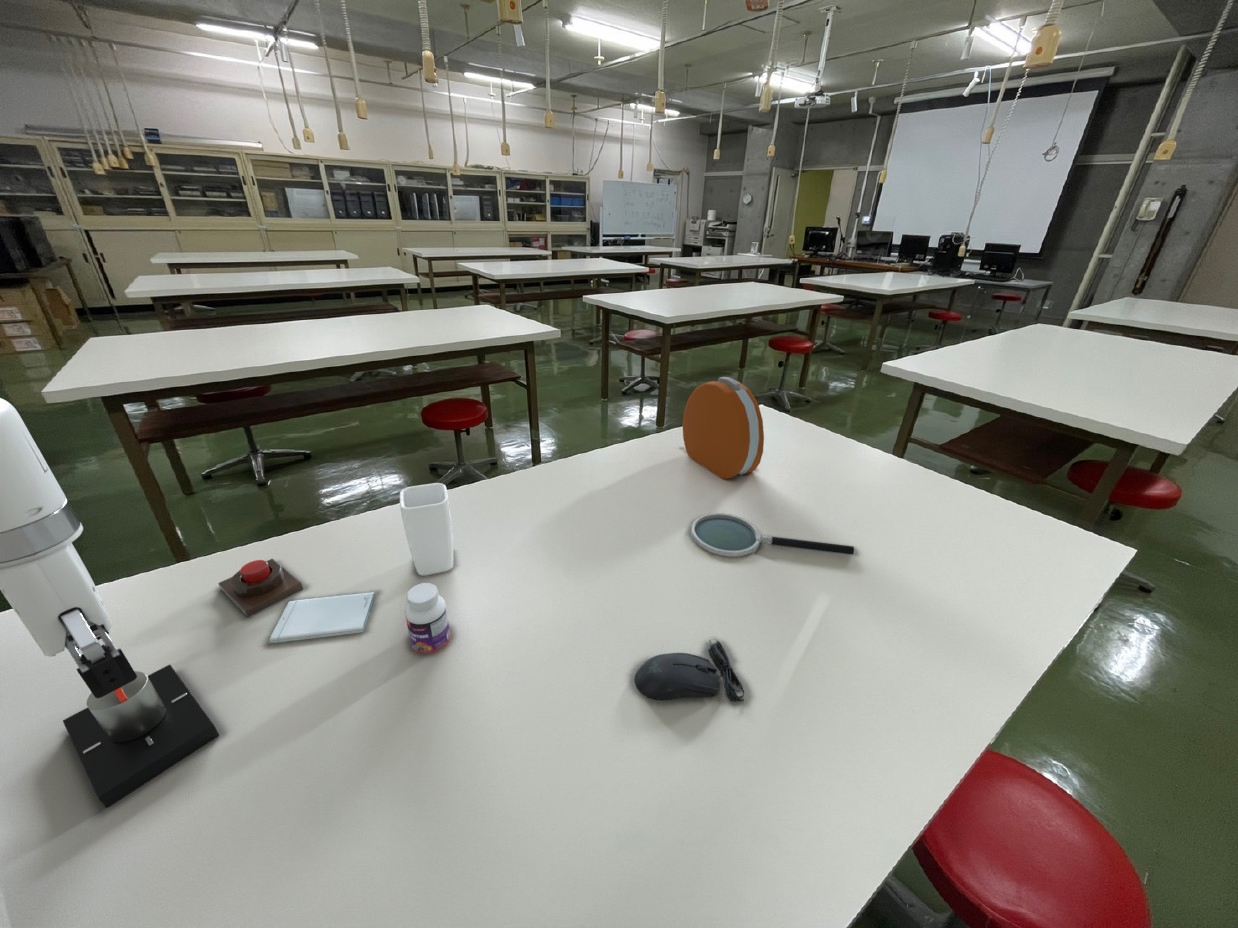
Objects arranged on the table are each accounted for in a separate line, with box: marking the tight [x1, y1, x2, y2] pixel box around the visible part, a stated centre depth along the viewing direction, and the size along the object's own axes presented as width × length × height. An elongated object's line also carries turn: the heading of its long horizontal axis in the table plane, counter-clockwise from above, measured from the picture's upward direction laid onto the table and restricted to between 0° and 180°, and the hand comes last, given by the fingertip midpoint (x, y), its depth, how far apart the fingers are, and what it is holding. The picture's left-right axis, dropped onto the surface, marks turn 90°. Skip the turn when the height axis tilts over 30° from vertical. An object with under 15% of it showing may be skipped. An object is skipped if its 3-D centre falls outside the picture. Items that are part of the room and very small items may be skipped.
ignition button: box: [239, 559, 270, 583], centre depth 79 cm, size 4×4×2 cm
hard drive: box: [268, 591, 376, 644], centre depth 76 cm, size 2×8×12 cm
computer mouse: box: [634, 637, 745, 703], centre depth 68 cm, size 10×15×4 cm
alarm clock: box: [682, 376, 765, 480], centre depth 123 cm, size 22×10×23 cm, turn 30°
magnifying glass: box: [690, 512, 855, 558], centre depth 97 cm, size 13×31×2 cm, turn 81°
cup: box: [399, 482, 454, 576], centre depth 85 cm, size 7×7×15 cm
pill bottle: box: [404, 582, 451, 654], centre depth 71 cm, size 5×5×10 cm
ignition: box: [217, 558, 304, 618], centre depth 80 cm, size 10×8×4 cm
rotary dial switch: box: [62, 664, 220, 809], centre depth 58 cm, size 14×10×3 cm
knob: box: [86, 670, 166, 742], centre depth 56 cm, size 5×5×6 cm
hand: (103, 663), depth 53 cm, fingers open, 9 cm apart
